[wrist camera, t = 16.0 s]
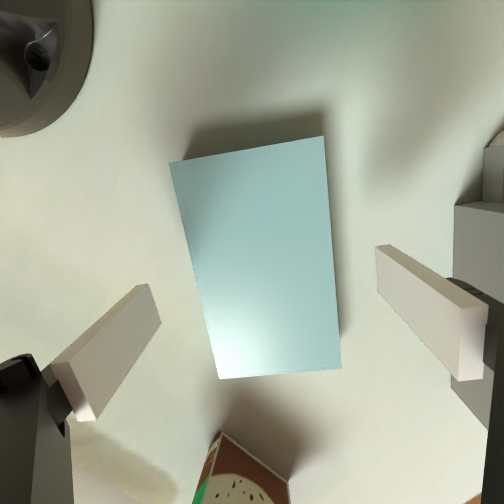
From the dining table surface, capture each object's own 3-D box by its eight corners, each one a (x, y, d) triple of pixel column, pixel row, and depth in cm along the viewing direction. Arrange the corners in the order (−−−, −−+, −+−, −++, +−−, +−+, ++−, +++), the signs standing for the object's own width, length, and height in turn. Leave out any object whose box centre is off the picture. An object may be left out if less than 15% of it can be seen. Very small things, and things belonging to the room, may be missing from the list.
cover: (183, 164, 19) (168, 163, 16) (315, 141, 18) (323, 135, 15) (225, 354, 24) (219, 379, 21) (332, 344, 23) (341, 368, 20)
